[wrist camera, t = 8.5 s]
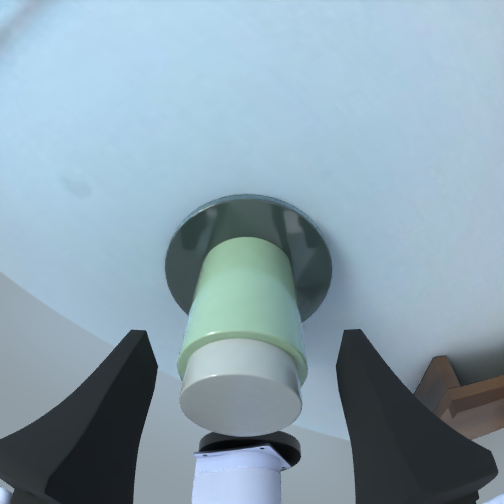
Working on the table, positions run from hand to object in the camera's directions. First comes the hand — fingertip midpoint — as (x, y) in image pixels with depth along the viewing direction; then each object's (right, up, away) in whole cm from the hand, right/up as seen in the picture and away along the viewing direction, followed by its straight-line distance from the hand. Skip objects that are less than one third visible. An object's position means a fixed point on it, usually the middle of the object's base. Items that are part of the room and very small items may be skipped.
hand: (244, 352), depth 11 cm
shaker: (0, +2, +4) cm, 5 cm away
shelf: (+20, -8, +10) cm, 23 cm away
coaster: (0, +3, +4) cm, 5 cm away
